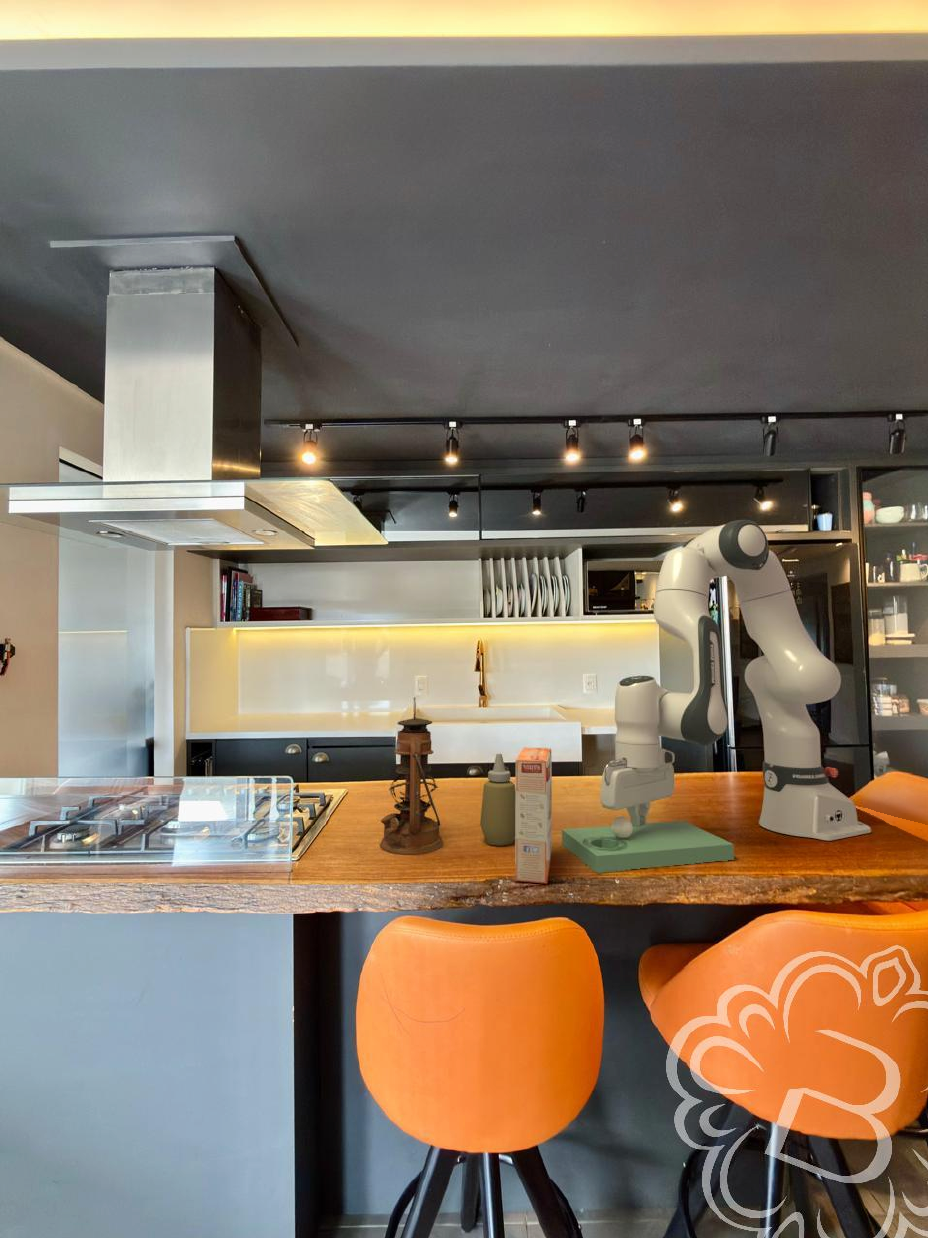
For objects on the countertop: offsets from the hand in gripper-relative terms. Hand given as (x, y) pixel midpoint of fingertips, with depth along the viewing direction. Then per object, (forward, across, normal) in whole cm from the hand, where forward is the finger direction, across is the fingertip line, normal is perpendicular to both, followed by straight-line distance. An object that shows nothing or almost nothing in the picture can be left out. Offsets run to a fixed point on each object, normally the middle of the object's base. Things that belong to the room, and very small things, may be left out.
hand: (638, 825), depth 116 cm
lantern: (+5, -35, +30) cm, 46 cm away
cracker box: (+5, -25, +4) cm, 26 cm away
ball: (-1, -6, 0) cm, 6 cm away
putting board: (+4, -2, -2) cm, 5 cm away
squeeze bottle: (+5, -20, +20) cm, 29 cm away
